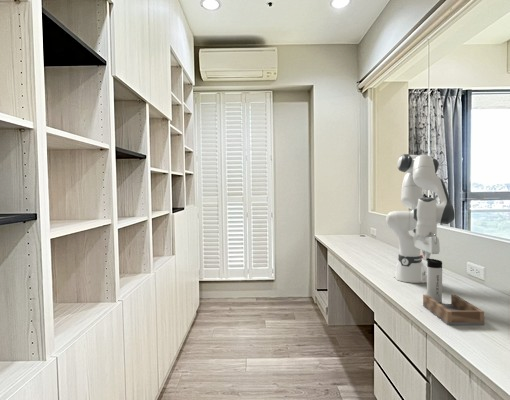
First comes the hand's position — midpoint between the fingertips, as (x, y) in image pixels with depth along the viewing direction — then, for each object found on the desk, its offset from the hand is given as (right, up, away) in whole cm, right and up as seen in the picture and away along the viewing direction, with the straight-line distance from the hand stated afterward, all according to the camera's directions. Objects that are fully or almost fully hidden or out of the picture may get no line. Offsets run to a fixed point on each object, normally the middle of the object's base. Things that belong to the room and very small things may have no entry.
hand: (426, 260), depth 178 cm
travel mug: (0, -19, -7) cm, 20 cm away
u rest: (0, -19, -23) cm, 30 cm away
